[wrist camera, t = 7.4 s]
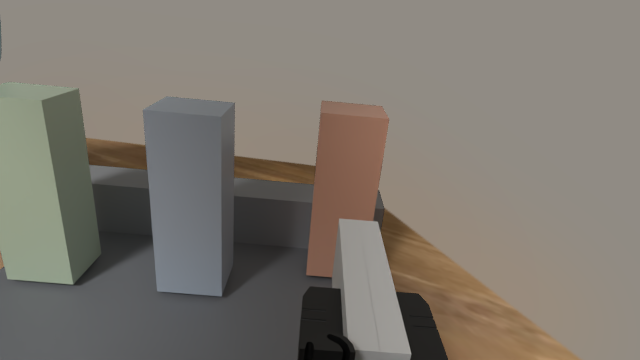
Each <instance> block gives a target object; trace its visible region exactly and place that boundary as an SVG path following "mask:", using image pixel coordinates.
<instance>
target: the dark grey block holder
mask: <svg viewBox="0 0 640 360" xmlns="http://www.w3.org/2000/svg"><path fill="white" fill-rule="evenodd" d="M89 167H90V174H91V182H92V189H93V196H94V204H95V211H96V218H97V226H98V233H99V240H100V248H101V255H100V256H99V257H98V258H97V259H96V260H95V261H94V262H93V264H92V265H91V266H90V267H89V268H88V269H87V270H86V271H85V272H84V273H83V274H82V276H81V277H80V278H79V279H78V280H77V281H76V282H75V283H74V284H61V283H48V282H36V281H23V280H11V279H7V275H6V271H5V267H3V268H2V269H1V270H0V360H297V358H298V345H299V332H300V320H301V309H302V298H303V295H304V294H305V292H306V291H307V290H308V288H309V287H310V286H313V287H326V288H332V277H322V276H310V275H306V270H307V257H308V244H309V233H310V222H311V211H312V201H313V190H314V185H313V184H302V183H290V182H279V181H267V180H256V179H245V178H234V232H233V267H232V269H231V272H230V275H229V278H228V280H227V283H226V286H225V289H224V292H223V294H222V297H221V296H209V295H197V294H184V293H172V292H159V291H157V284H156V271H155V259H154V246H153V233H152V220H151V208H150V195H149V182H148V170H142V169H131V168H119V167H108V166H96V165H89ZM383 215H384V206H383V202H382V199H381V195H380V192H379V190H378V193H377V199H376V206H375V212H374V218H373V221H376V222H378V225H379V228H380V232H381V227H382V221H383Z"/></svg>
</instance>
